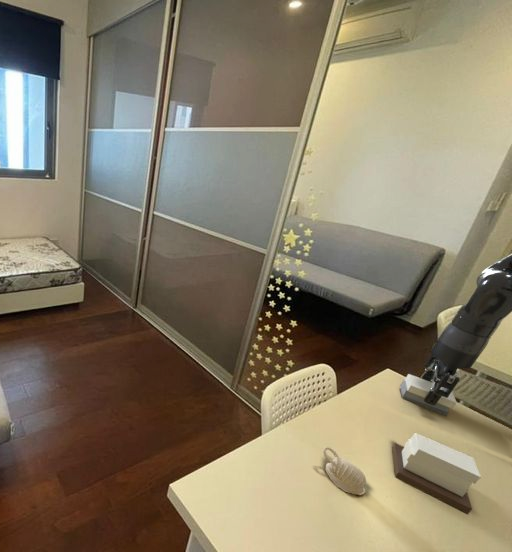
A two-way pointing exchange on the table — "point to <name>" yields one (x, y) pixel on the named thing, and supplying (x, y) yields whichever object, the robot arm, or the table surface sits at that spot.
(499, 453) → the table surface
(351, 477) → the decorative ornament
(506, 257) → the robot arm
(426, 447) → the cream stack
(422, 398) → the blue-grey block
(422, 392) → the white rectangular block
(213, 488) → the table surface
